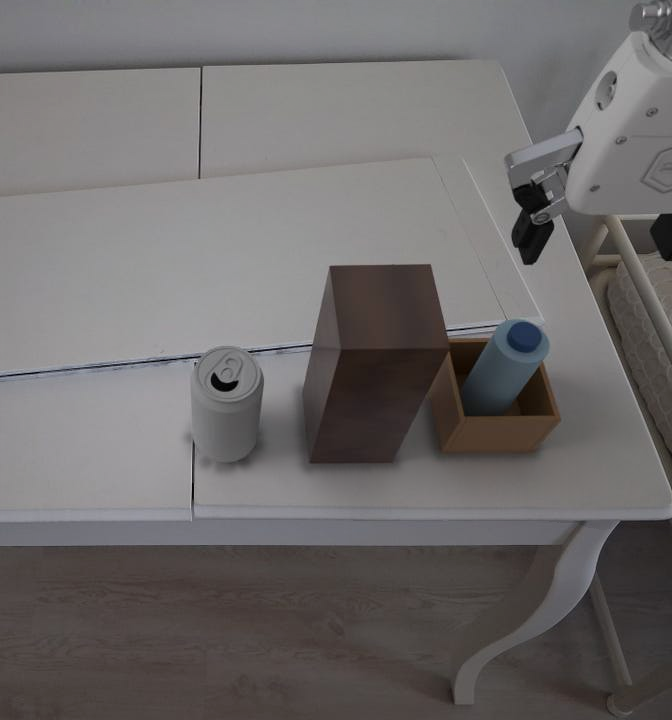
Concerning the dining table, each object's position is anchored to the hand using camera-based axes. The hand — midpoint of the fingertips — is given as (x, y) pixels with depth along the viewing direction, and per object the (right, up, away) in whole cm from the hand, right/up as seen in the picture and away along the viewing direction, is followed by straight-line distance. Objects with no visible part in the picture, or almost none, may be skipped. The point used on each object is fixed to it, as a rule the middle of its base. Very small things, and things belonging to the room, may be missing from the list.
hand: (591, 248), depth 51 cm
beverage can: (-25, -16, +20) cm, 36 cm away
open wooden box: (0, -13, +21) cm, 25 cm away
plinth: (-13, -15, +20) cm, 28 cm away
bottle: (0, -13, +20) cm, 24 cm away
